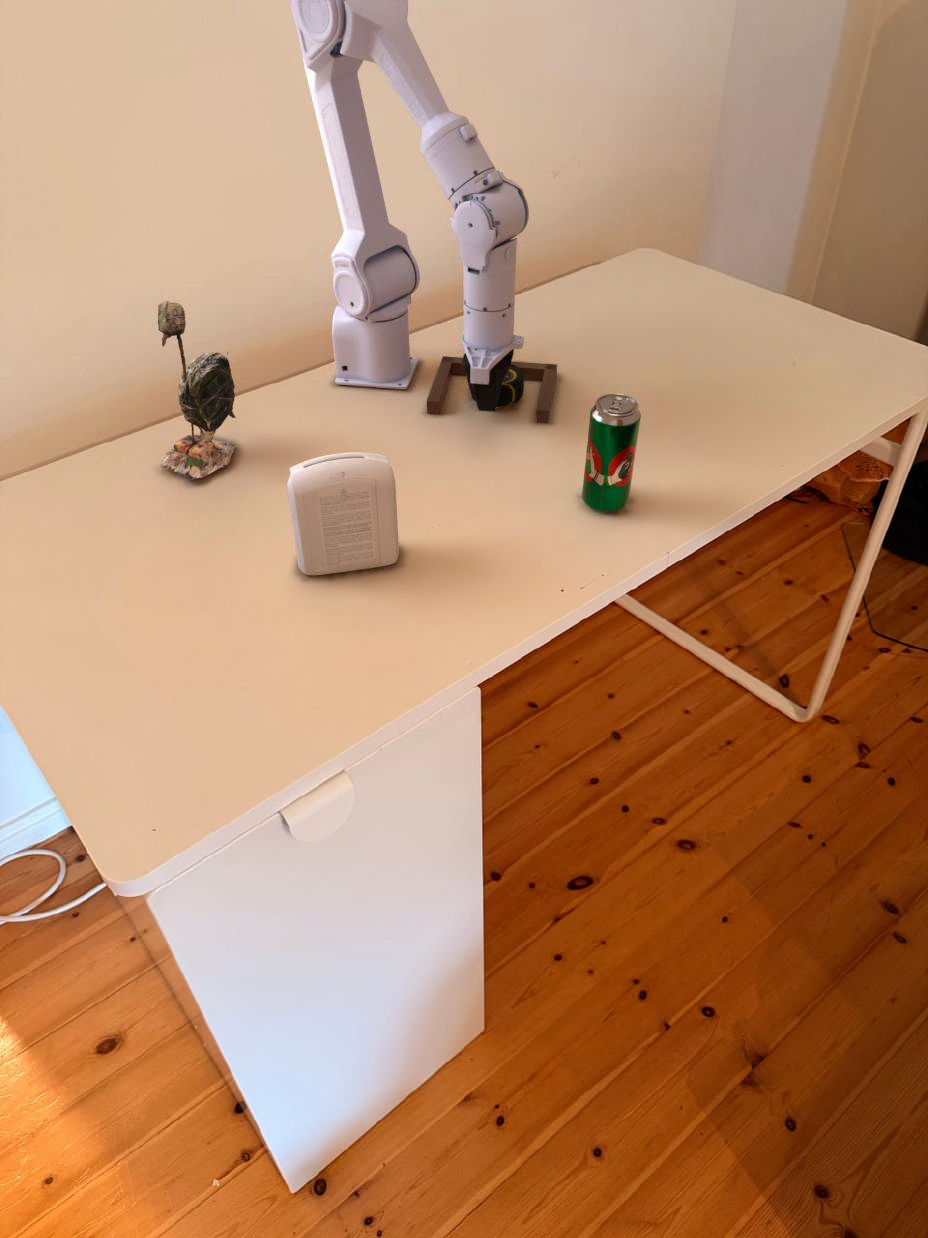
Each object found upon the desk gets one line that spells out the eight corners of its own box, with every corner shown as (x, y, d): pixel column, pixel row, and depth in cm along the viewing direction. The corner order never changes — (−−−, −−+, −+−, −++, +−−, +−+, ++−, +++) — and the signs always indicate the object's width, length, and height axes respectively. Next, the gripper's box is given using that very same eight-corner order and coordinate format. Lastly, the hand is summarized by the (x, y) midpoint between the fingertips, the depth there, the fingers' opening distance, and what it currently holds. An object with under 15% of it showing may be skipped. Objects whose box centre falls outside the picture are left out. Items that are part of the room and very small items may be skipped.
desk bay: (426, 413, 115) (426, 400, 113) (442, 368, 123) (442, 355, 122) (548, 423, 113) (549, 410, 112) (556, 376, 121) (557, 364, 120)
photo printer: (396, 540, 97) (389, 437, 88) (403, 566, 93) (397, 462, 85) (296, 555, 95) (279, 451, 86) (301, 582, 92) (283, 477, 83)
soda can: (632, 492, 102) (646, 395, 94) (622, 519, 99) (636, 420, 91) (587, 484, 104) (597, 387, 95) (576, 510, 100) (586, 412, 92)
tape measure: (519, 385, 120) (520, 358, 117) (526, 412, 115) (527, 385, 112) (466, 387, 119) (466, 360, 117) (471, 415, 114) (471, 387, 112)
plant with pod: (267, 448, 109) (239, 281, 96) (188, 491, 103) (145, 319, 89) (224, 424, 113) (190, 260, 99) (145, 463, 107) (98, 295, 93)
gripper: (517, 332, 98) (513, 443, 107) (531, 275, 108) (526, 381, 118) (451, 328, 99) (452, 438, 108) (471, 272, 109) (471, 377, 118)
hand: (487, 408), depth 113 cm, fingers closed
